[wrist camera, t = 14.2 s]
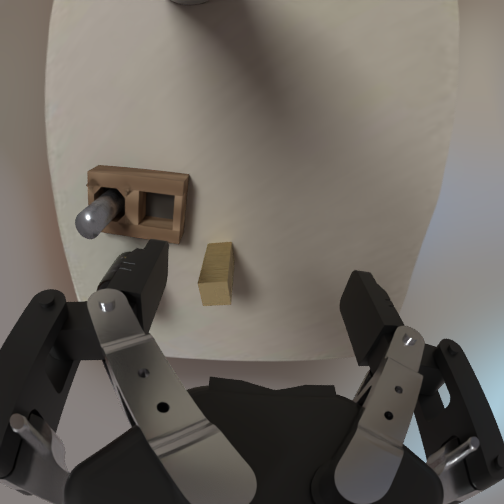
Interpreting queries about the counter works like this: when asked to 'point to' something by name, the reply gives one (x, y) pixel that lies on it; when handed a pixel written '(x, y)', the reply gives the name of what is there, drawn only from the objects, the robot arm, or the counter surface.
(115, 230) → the bore block
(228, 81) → the counter surface
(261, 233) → the counter surface
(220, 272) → the square bit
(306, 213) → the counter surface
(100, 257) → the counter surface
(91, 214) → the cylinder
